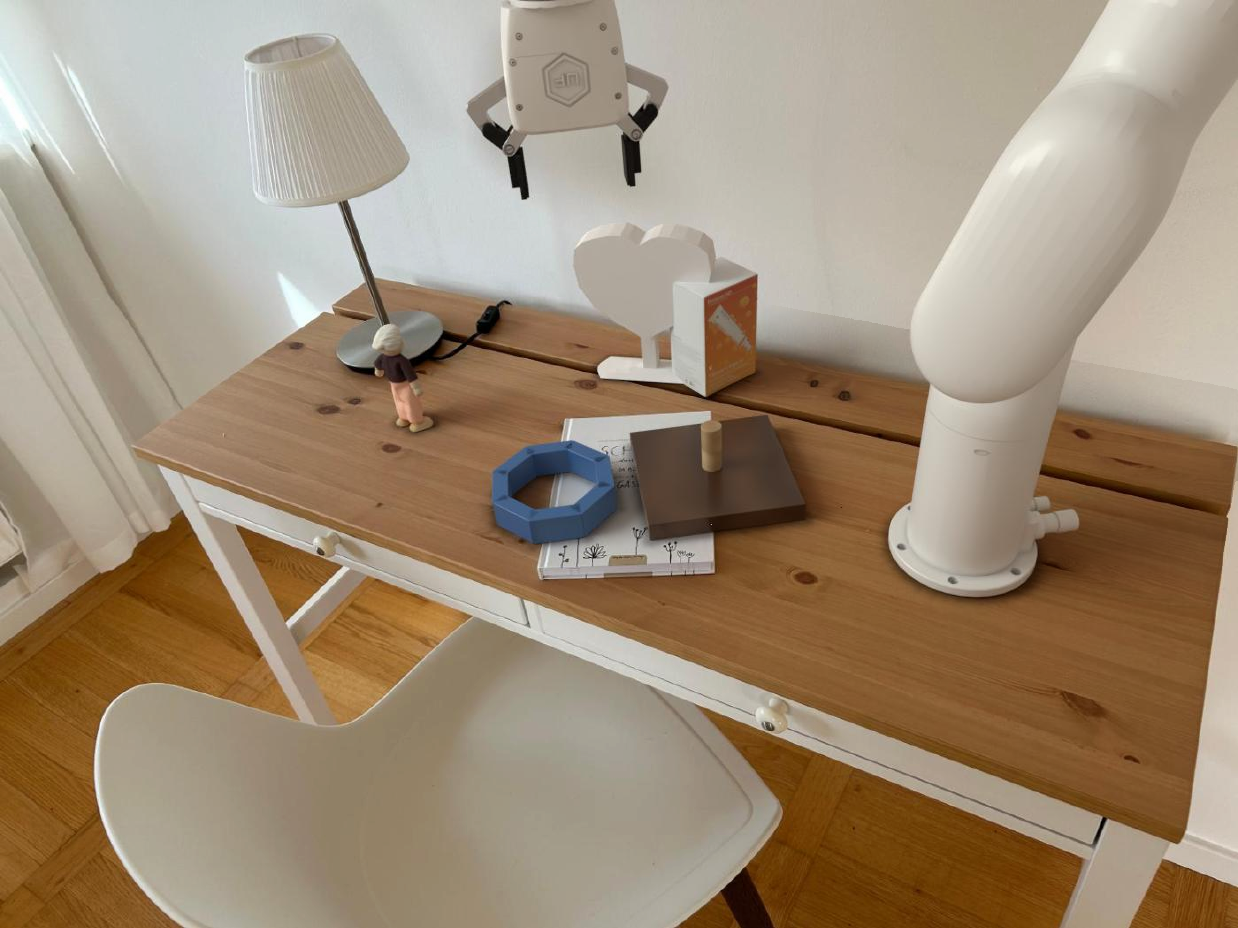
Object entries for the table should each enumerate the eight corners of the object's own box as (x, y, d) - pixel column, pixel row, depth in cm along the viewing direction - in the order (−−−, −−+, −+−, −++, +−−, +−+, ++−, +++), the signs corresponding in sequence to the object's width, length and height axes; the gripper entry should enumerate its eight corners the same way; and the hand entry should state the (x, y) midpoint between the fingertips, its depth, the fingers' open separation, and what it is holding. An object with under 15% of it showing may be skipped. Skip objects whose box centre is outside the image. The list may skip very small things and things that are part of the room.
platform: (767, 429, 98) (768, 375, 94) (804, 519, 86) (808, 462, 82) (630, 447, 97) (625, 393, 93) (649, 540, 86) (645, 484, 81)
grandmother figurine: (448, 419, 104) (424, 323, 97) (428, 437, 102) (402, 340, 94) (396, 406, 108) (369, 312, 100) (375, 423, 105) (346, 328, 97)
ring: (608, 457, 96) (605, 435, 94) (620, 532, 87) (618, 509, 85) (496, 472, 96) (492, 450, 94) (497, 549, 86) (492, 526, 85)
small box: (706, 399, 103) (703, 297, 95) (671, 377, 108) (665, 278, 100) (757, 372, 107) (759, 272, 99) (722, 352, 111) (720, 255, 103)
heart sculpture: (718, 362, 109) (716, 221, 98) (711, 385, 105) (708, 241, 94) (595, 355, 113) (580, 218, 102) (584, 377, 109) (567, 237, 98)
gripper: (443, 0, 68) (482, 215, 79) (669, -26, 69) (678, 191, 79) (447, -19, 74) (483, 184, 85) (655, -42, 75) (665, 162, 85)
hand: (577, 187), depth 82 cm, fingers open, 9 cm apart
